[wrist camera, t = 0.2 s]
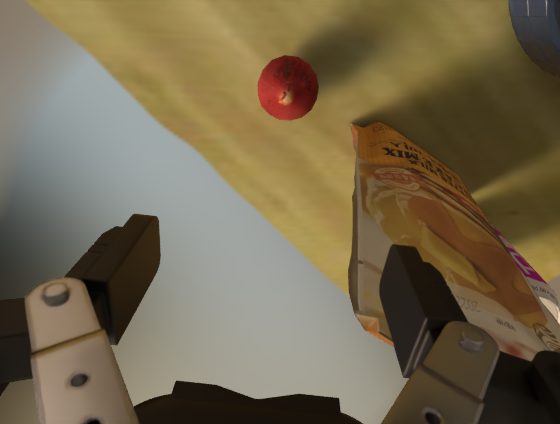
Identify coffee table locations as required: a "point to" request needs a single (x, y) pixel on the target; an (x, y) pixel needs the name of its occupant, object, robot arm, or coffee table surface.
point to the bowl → (538, 31)
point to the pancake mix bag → (436, 244)
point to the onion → (288, 88)
